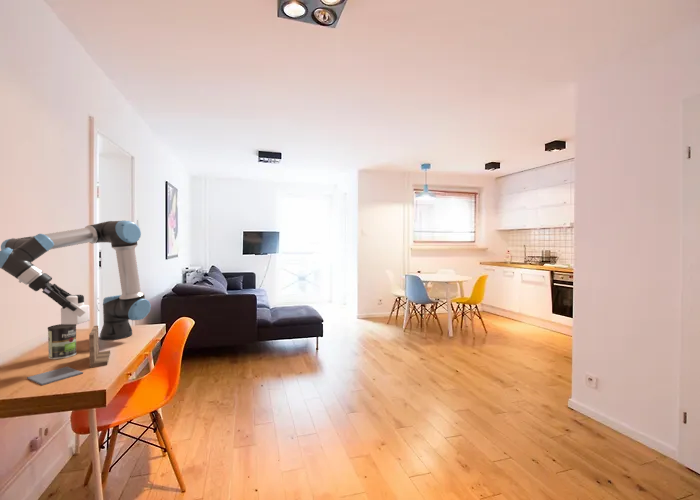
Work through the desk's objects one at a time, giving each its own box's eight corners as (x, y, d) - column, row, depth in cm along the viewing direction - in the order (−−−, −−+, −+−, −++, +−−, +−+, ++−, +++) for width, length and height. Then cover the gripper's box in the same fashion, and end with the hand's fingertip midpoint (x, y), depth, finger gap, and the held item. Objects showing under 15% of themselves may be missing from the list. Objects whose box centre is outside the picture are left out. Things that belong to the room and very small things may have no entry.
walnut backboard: (94, 355, 161) (94, 325, 161) (110, 353, 165) (109, 324, 164) (89, 367, 146) (89, 334, 146) (107, 364, 149) (106, 332, 149)
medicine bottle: (74, 320, 154) (73, 293, 154) (90, 320, 154) (89, 293, 153) (60, 324, 147) (59, 296, 147) (77, 324, 147) (76, 296, 146)
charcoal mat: (67, 367, 146) (67, 366, 146) (82, 373, 139) (82, 372, 139) (27, 378, 134) (27, 377, 134) (42, 385, 128) (42, 383, 128)
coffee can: (82, 352, 165) (81, 323, 165) (60, 360, 155) (59, 329, 155) (65, 351, 167) (64, 322, 167) (42, 358, 157) (41, 328, 157)
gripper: (34, 282, 151) (80, 314, 160) (19, 289, 132) (72, 324, 141) (50, 270, 154) (94, 301, 163) (37, 274, 135) (88, 310, 144)
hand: (84, 312), depth 152 cm, fingers closed on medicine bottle, 10 cm apart
